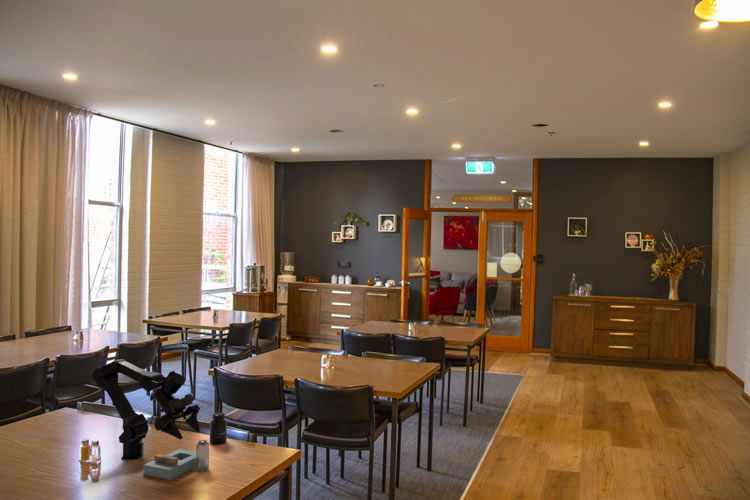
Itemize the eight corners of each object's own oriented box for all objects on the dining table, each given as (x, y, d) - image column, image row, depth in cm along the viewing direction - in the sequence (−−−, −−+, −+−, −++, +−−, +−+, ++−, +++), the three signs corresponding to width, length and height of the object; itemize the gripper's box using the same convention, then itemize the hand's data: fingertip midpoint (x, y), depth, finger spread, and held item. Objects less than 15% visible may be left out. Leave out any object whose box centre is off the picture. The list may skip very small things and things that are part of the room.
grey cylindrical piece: (194, 472, 203) (195, 443, 203) (197, 467, 207) (197, 439, 207) (207, 472, 203) (208, 443, 203) (210, 467, 208) (210, 438, 208)
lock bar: (154, 461, 203) (154, 455, 203) (158, 459, 205) (158, 453, 205) (174, 465, 200) (174, 459, 200) (178, 463, 202) (178, 457, 202)
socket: (143, 474, 201) (143, 464, 201) (179, 458, 217) (179, 448, 217) (170, 480, 196) (170, 470, 196) (204, 462, 213) (204, 453, 213)
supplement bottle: (221, 446, 231) (222, 416, 231) (206, 444, 233) (206, 415, 233) (229, 440, 238) (229, 412, 238) (214, 439, 239) (214, 411, 239)
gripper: (161, 393, 201) (185, 428, 197) (196, 383, 219) (219, 414, 214) (143, 413, 204) (167, 448, 200) (180, 401, 221) (202, 433, 217)
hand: (190, 435), depth 208 cm, fingers open, 9 cm apart
